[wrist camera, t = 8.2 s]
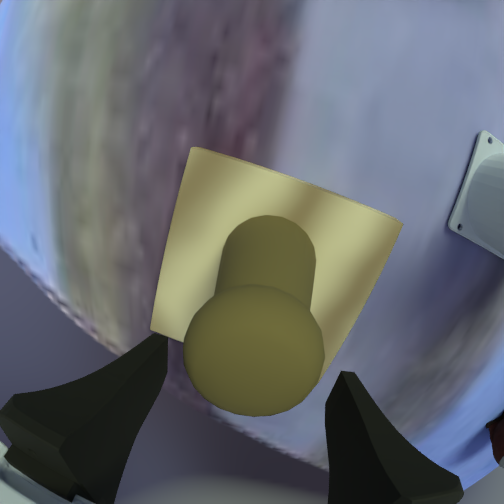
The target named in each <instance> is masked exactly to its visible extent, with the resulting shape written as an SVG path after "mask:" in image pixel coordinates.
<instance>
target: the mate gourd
mask: <svg viewBox="0 0 504 504" xmlns="http://www.w3.org/2000/svg"><path fill="white" fill-rule="evenodd" d="M487 428H489V432H490V439H491V442H492V449H493V455H494V458H495V460H496V462H497V463H498V464H499V466H500V467H503V468H504V412H503V414H502V416H501V417H499V418H497V419H495V420H493V421H491V422H489V423H487V424H486V429H487Z"/></svg>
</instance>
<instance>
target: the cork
mask: <svg viewBox="0 0 504 504" xmlns="http://www.w3.org/2000/svg"><path fill="white" fill-rule="evenodd" d="M315 268H316V255H315V249H314V245H313V243H312V242H311V240H310V238H309V236H308V234H307V233H306V232H305V231H304V230H303V229H302V228H301V227H300V226H299V225H297V224H296V223H295V222H292V221H290V220H288V219H286V218H284V217H280V216H272V215H263V216H258V217H252V218H250V219H248V220H246V221H244V222H243V223H241V224H239V225H238V226H237V227H236V228H235V229H234V230H233V231H232V232H231V233H230V234H229V236H228V238H227V240H226V242H225V245H224V247H223V250H222V255H221V261H220V266H219V271H218V276H217V281H216V287H215V292H214V296H213V297H212V298H210V299H209V300H208V301H207V302H206V303H205V304H204V305H203V306H202V307H201V308H200V309H199V310H198V311H197V312H196V313H195V314H194V316H193V318H192V320H191V322H190V324H189V327H188V329H187V332H186V334H185V337H184V343H183V359H184V366H185V369H186V371H187V373H188V376H189V378H190V380H191V382H192V384H193V386H194V388H195V389H196V390H197V391H198V392H199V393H200V394H201V395H202V396H203V398H204V399H206V400H207V401H209V402H210V403H212V404H213V405H215V406H217V407H218V408H220V409H223V410H226V411H228V412H231V413H234V414H238V415H245V416H252V417H257V416H272V415H275V414H278V413H282V412H285V411H288V410H290V409H291V408H293V407H295V406H296V405H298V404H299V403H301V402H302V401H303V400H304V399H305V398H306V397H307V396H308V394H309V393H310V392H311V391H312V390H313V388H314V387H315V386H316V385H317V383H318V381H319V378H320V375H321V372H322V368H323V365H324V361H325V351H324V343H323V336H322V331H321V329H320V327H319V325H318V324H317V322H316V320H315V318H314V317H313V315H312V313H311V312H310V308H311V300H312V293H313V285H314V276H315Z"/></svg>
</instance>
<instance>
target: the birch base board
mask: <svg viewBox="0 0 504 504" xmlns="http://www.w3.org/2000/svg"><path fill="white" fill-rule="evenodd" d="M263 215H272V216H280V217H284V218H286V219H288V220H290V221H292V222H295V223H296V224H297V225H299V226H300V227H301V228H302V229H303V230H304V231H305V232H306V233H307V234H308V236H309V238H310V240H311V242H312V243H313V245H314V249H315V255H316V268H315V276H314V285H313V293H312V300H311V308H310V312H311V313H312V315H313V317H314V318H315V320H316V322H317V324H318V325H319V327H320V329H321V331H322V336H323V343H324V351H325V361H324V365H323V368H322V372H321V375H320V378H319V381H320V379H321V378H322V376H323V375H324V373H325V372H326V370H327V368H328V367H329V365H330V364H331V362H332V360H333V359H334V357H335V356H336V354H337V352H338V351H339V349H340V347H341V346H342V344H343V342H344V340H345V339H346V337H347V335H348V334H349V332H350V330H351V328H352V327H353V325H354V323H355V321H356V319H357V318H358V316H359V314H360V312H361V310H362V309H363V307H364V305H365V303H366V301H367V299H368V297H369V295H370V293H371V291H372V290H373V288H374V286H375V284H376V282H377V280H378V278H379V276H380V274H381V272H382V270H383V268H384V265H385V263H386V261H387V259H388V257H389V255H390V253H391V251H392V248H393V246H394V244H395V242H396V240H397V237H398V235H399V233H400V231H401V228H402V226H403V223H401V222H400V221H399V220H397V219H396V218H394V217H392V216H389V215H387V214H385V213H382V212H380V211H378V210H375V209H373V208H371V207H368V206H366V205H363V204H361V203H359V202H356V201H354V200H351V199H349V198H346V197H344V196H341V195H339V194H336V193H334V192H331V191H328V190H326V189H323V188H321V187H318V186H315V185H313V184H310V183H307V182H305V181H302V180H299V179H296V178H293V177H291V176H288V175H285V174H282V173H279V172H276V171H273V170H271V169H268V168H265V167H262V166H259V165H256V164H252V163H249V162H246V161H243V160H240V159H237V158H234V157H230V156H227V155H224V154H221V153H217V152H214V151H211V150H207V149H204V148H200V147H191V150H190V154H189V157H188V161H187V164H186V168H185V171H184V175H183V179H182V182H181V186H180V190H179V194H178V198H177V202H176V206H175V210H174V214H173V218H172V222H171V226H170V231H169V235H168V239H167V244H166V248H165V253H164V258H163V262H162V267H161V272H160V277H159V282H158V287H157V292H156V298H155V303H154V309H153V315H152V321H151V327H150V330H153V331H155V332H158V333H160V334H163V335H165V336H168V337H170V338H173V339H176V340H178V341H181V342H184V337H185V334H186V332H187V329H188V327H189V324H190V322H191V320H192V318H193V316H194V314H195V313H196V312H197V311H198V310H199V309H200V308H201V307H202V306H203V305H204V304H205V303H206V302H207V301H208V300H209V299H210V298H212V297H213V296H214V292H215V287H216V281H217V276H218V271H219V266H220V261H221V255H222V250H223V247H224V245H225V242H226V240H227V238H228V236H229V234H230V233H231V232H232V231H233V230H234V229H235V228H236V227H237V226H238V225H239V224H241V223H243V222H244V221H246V220H248V219H250V218H252V217H258V216H263ZM319 381H318V383H319ZM318 383H317V384H318Z"/></svg>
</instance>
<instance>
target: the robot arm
mask: <svg viewBox="0 0 504 504" xmlns="http://www.w3.org/2000/svg"><path fill="white" fill-rule="evenodd" d="M488 138H489V140H490V142H489V143H488ZM459 224H460V228H459V229H458V228H457V227H458V225H459ZM448 227H449V228H450V229H451V230H452V231H454V232H456V233H458V234H460V235H462V236H463V237H465V238H467V239H469V240H471V241H473V242H474V243H476V244H478V245H480V246H481V247H483V248H485V249H487V250H488V251H490V252H492V253H494V254H495V255H497V256H499V257H500V258H502V259H504V144H503V143H501V142H500V141H499V140H498V139H496V138H495V137H494V136H492V135H491V134H490V133H488V132H487V131H480V132H479V134H478V138H477V141H476V145H475V148H474V152H473V155H472V158H471V161H470V164H469V167H468V170H467V173H466V176H465V179H464V182H463V185H462V188H461V190H460V193H459V196H458V198H457V201H456V204H455V206H454V209H453V211H452V214H451V216H450V219H449V221H448ZM167 360H168V337H166V336H163V335H159V334H156V333H154V334H152V335H151V336H149V337H148V338H146V339H145V340H144V341H142V342H141V343H140V344H138V345H137V346H135V347H134V348H133V349H131V350H130V351H128V352H127V353H125V354H124V355H122V356H121V357H119V358H118V359H116V360H115V361H113V362H111V363H110V364H108V365H106V366H105V367H103V368H101V369H99V370H97V371H95V372H93V373H91V374H89V375H87V376H85V377H83V378H80V379H78V380H75V381H72V382H69V383H66V384H63V385H60V386H57V387H54V388H50V389H45V390H40V391H35V392H28V393H20V394H14V395H13V396H12V397H11V398H10V400H9V401H8V402H7V403H6V404H5V405H4V407H3V408H2V409H1V410H0V426H1V428H2V429H3V431H4V433H5V434H6V436H7V437H8V439H9V440H10V441H11V443H12V445H11V447H10V448H8V447H7V446H6V445H5V444H3V443H2V442H1V441H0V504H114V501H115V498H116V494H117V490H118V487H119V483H120V480H121V477H122V474H123V471H124V468H125V465H126V462H127V459H128V457H129V454H130V451H131V449H132V446H133V443H134V441H135V438H136V436H137V434H138V432H139V430H140V428H141V426H142V424H143V422H144V420H145V418H146V417H147V415H148V413H149V411H150V409H151V407H152V406H153V404H154V402H155V400H156V398H157V396H158V394H159V392H160V390H161V388H162V385H163V383H164V380H165V377H166V374H167ZM325 429H326V439H327V448H328V458H329V474H330V475H329V476H330V477H329V495H328V504H456V503H457V502H459V501H460V500H461V499H462V497H463V495H464V492H463V488H462V485H461V482H460V479H459V477H458V476H457V475H455V474H453V473H451V472H449V471H447V470H446V469H444V468H442V467H440V466H439V465H437V464H436V463H434V462H433V461H431V460H430V459H428V458H427V457H426V456H424V455H423V454H422V453H421V452H419V451H418V450H417V449H416V448H415V447H414V446H412V445H411V444H410V443H409V442H408V441H407V440H406V439H405V438H404V437H403V436H402V435H401V434H400V433H399V432H398V431H397V430H396V429H395V427H394V426H393V425H392V424H391V423H390V422H389V420H388V419H387V418H386V417H385V415H384V414H383V413H382V411H381V410H380V409H379V407H378V406H377V405H376V403H375V402H374V400H373V399H372V398H371V396H370V395H369V393H368V392H367V390H366V389H365V387H364V386H363V384H362V383H361V381H360V380H359V378H358V377H357V375H356V374H355V372H347V371H341V372H340V374H339V376H338V378H337V380H336V383H335V385H334V387H333V389H332V391H331V393H330V395H329V397H328V399H327V401H326V404H325Z"/></svg>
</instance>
